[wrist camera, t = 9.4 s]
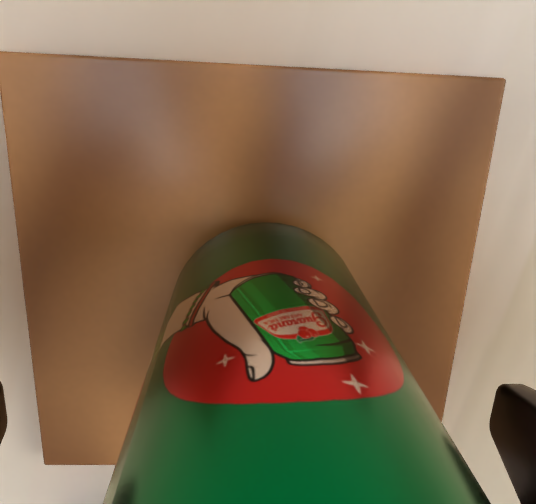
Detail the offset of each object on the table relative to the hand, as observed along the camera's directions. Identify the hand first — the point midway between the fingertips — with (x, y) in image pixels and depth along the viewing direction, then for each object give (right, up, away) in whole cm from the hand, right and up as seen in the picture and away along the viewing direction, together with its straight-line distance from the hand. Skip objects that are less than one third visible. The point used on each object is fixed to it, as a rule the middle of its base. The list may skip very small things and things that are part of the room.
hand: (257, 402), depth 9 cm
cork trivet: (0, +2, +6) cm, 6 cm away
